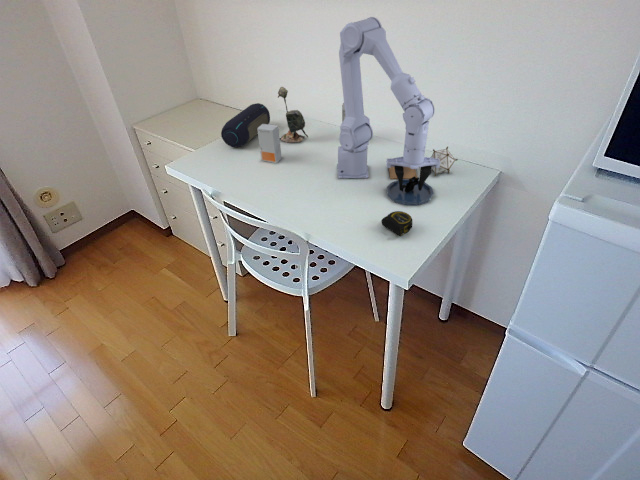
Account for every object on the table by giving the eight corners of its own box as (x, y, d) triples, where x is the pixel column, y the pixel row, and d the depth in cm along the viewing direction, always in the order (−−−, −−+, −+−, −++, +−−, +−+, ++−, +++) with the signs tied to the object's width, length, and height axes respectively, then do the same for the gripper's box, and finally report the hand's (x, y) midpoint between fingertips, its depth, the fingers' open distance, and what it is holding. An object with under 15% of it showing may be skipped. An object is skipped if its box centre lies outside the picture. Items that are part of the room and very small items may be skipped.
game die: (443, 185, 128) (458, 171, 119) (418, 175, 128) (432, 160, 118) (449, 162, 131) (465, 147, 122) (425, 152, 131) (439, 136, 121)
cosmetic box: (261, 161, 138) (256, 128, 131) (267, 155, 141) (262, 123, 134) (276, 163, 136) (272, 130, 129) (282, 158, 140) (278, 125, 132)
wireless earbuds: (414, 185, 120) (418, 172, 117) (420, 190, 119) (425, 176, 115) (398, 193, 117) (402, 180, 114) (404, 198, 116) (408, 184, 112)
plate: (388, 205, 114) (388, 202, 113) (385, 181, 124) (386, 178, 123) (435, 205, 113) (436, 202, 112) (429, 182, 123) (429, 179, 122)
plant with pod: (298, 147, 146) (294, 92, 133) (276, 140, 152) (270, 86, 139) (313, 140, 150) (310, 85, 138) (291, 132, 156) (286, 80, 144)
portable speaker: (244, 152, 144) (240, 126, 138) (220, 149, 147) (215, 123, 141) (275, 125, 162) (272, 101, 156) (253, 123, 165) (249, 99, 159)
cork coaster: (390, 179, 125) (390, 178, 125) (388, 166, 132) (388, 165, 132) (417, 179, 125) (417, 178, 124) (414, 166, 131) (414, 165, 131)
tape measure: (379, 227, 106) (380, 216, 103) (398, 218, 109) (400, 207, 106) (397, 240, 101) (398, 228, 99) (417, 230, 104) (418, 218, 102)
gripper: (388, 152, 106) (385, 195, 115) (444, 152, 105) (437, 196, 114) (387, 140, 112) (384, 183, 120) (440, 140, 111) (433, 183, 119)
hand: (409, 188), depth 117 cm, fingers closed on wireless earbuds, 5 cm apart
